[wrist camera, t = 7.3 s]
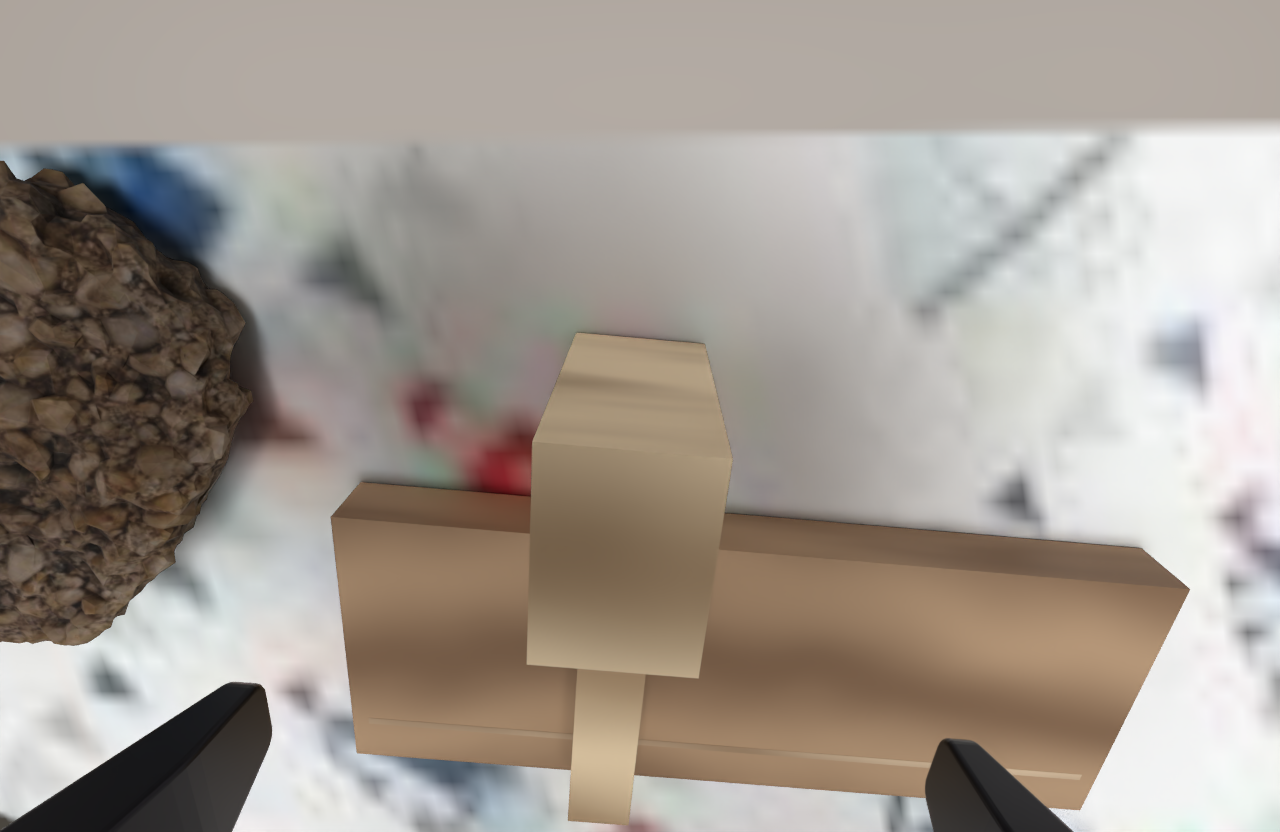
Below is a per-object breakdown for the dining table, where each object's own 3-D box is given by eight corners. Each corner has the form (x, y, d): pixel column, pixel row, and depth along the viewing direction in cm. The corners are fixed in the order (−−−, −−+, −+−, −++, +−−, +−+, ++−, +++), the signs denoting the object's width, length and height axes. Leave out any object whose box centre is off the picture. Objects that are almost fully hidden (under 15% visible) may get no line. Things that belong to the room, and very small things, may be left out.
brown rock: (115, 604, 22) (-27, 727, 18) (-166, 363, 19) (-430, 437, 14) (369, 436, 20) (281, 529, 15) (93, 125, 16) (-126, 122, 12)
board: (1047, 758, 24) (1080, 810, 22) (380, 704, 24) (356, 753, 22) (1141, 548, 20) (1190, 589, 19) (360, 482, 20) (330, 516, 18)
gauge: (656, 719, 23) (657, 942, 17) (557, 712, 23) (519, 931, 17) (704, 343, 18) (733, 459, 12) (576, 332, 18) (532, 441, 11)
